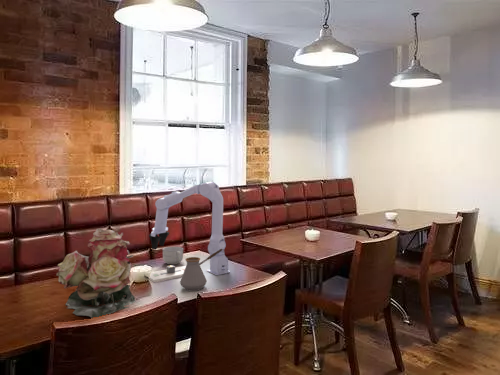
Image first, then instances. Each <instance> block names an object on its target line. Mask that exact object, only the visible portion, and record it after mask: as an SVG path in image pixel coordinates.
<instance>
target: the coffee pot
mask: <svg viewBox="0 0 500 375" xmlns="http://www.w3.org/2000/svg"><path fill="white" fill-rule="evenodd" d="M220 251H222V249H220V250H219V251H217V252H215V253H213V254H212V255H210V254H209V256H208V257H206V258H205V259H204V260H201V258H200V257H196V256H191V257H187V258H185V260H184V261H185V262H186V265H185V266H186V268H185V270H184V273H183V276H182V277H180V281H179V283H180V286H181V287H182V288H183V289H184V290H185V291H188V292H196V291H199V290H202V289H203V288H204V287H205V286H206V284H207V281H208V280H207V278H206V276H205V273H204V272H203V270H202V268H201V265H203V264H204V263H206V262H207V261H210V258H212V257H214V256H215V255H216V254H217V253H219V252H220ZM223 251H224V252H223V253H224V254H225V249H224V250H223Z"/></svg>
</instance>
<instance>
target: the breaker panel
mask: <svg viewBox="0 0 500 375" xmlns="http://www.w3.org/2000/svg"><path fill="white" fill-rule="evenodd" d="M185 268H186V265H183V266H177V267H176V266H175V272H173V273H168V272H167V268H166V269H162V270H156V271H152V273H151V276H150V280H149V281H151V282H152V283H159V282H163V281H168V280H172V279H179V278H182V276H183V273H184V270H185Z"/></svg>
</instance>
